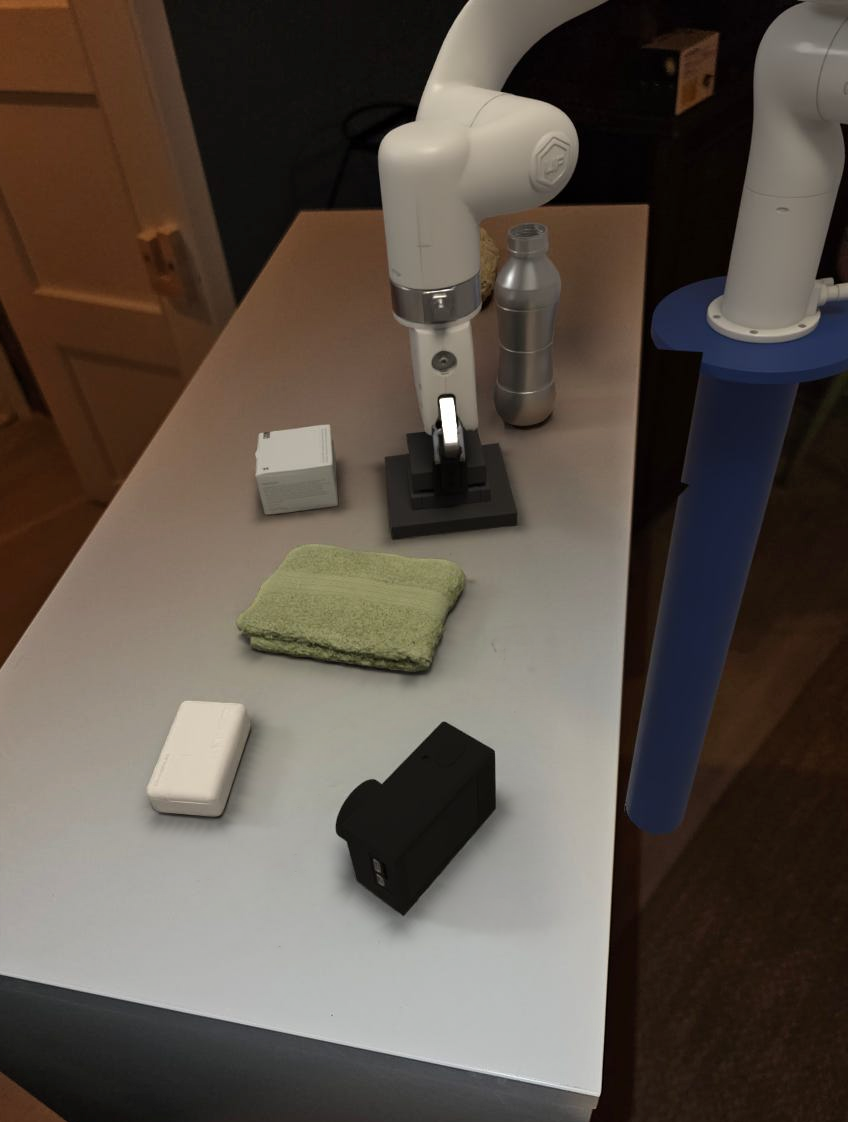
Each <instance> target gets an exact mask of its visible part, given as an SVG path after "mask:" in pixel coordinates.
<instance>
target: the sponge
mask: <svg viewBox="0 0 848 1122" xmlns="http://www.w3.org/2000/svg"><path fill="white" fill-rule="evenodd" d="M500 252H501V251H500V250H499V248H498V247H497V246H496V244H495V243H494V240H493V239H492V238H491V236H489V234H488V233H487V232H486V230H485V228H484V227H482V226H480V261H481V265H480V266H481V301H482V305H483V304H484V302H485V301H487V300H488V297H489V296H491V294H492V290H494V285H495V282H496V277H497V276H496V275H497V271H498V268H499V266H500V262H501V255H500Z"/></svg>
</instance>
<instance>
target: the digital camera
mask: <svg viewBox="0 0 848 1122" xmlns="http://www.w3.org/2000/svg"><path fill="white" fill-rule="evenodd" d="M496 778H497V777H496V750H494V749H493V748H492V747H490V746H488V745H486V744H485V743H483V742H482V741H480V740H478V739H477V738H474V737H473V736H471V735H470V734H468V733H466V732H464V731H463V730H461V729H459V728H458V727H456V726H454V725H452V724H450V723H449V722H447V721H441V722H440V723H439V724H438V725H437V726H436V728H434V729H433V731H432V732H431V733H429V734H428V735H427V737H425V739H424V740H423V741H422V742H421V743H420V744H419V745H418V746H417V747H416V748H415V749H414V750H413V751H412V752H410V754H409V755H408V756H407V757H406V758H405V759H404V760H403V761H402V762H401V764H399V765H398V767H396V769H395V770H393V772H392V773H391V774H390V775H389V776H388V777H387V778H386V779H385V780H383V782H382V783H381V781H379V780H377V779H375V778H370V779H366V780H364V781H363V782H361V783H360V784H358V785H357V786H356V787H355V788H354V789H353V790H352V791H351V792H350V793H349V795H348V796H347V797H346V798H345V800H344V802H343V803H342V805H341V806H340V809H339V811H338V814H337V816H336V820H335V833H336V835H337V836H338V837H339V838H341V839H342V840H343V841H345V842H346V845H347V848H348V853H349V856H350V860H351V861H350V862H351V865H352V868H353V873H354V876H355V880H356V881H357V883H359V884H361V886H363V887H364V888H365V889H367V890H368V891H370V892H371V893H373V894H374V895H375V896H376V897H378V898H379V899H380V900H382V901H383V902H384V903H385V904H387V905H388V906H390V907H391V908H392V909H393V910H394V911H396V912H397V913H399V914H400V915H401V916H402V917H403V916H405V915H406V914H407V913H408V912H409V910H410V909H411V908H412V907H413V906H414V905H415V904H416V902H417V901H418V900H419V899H420V898H421V896H422V895H423V894H424V893H425V892H426V891H427V889H428V888H429V887H430V886H431V885H432V884H433V883H434V881H436V879H437V878H438V877H439V875H440V874H441V873H442V872H443V871H444V870H445V869H446V867H447V866H448V865H449V864H450V863H451V862H452V860H453V859H454V858H455V857H456V856H457V855H458V853H459V852H460V851H461V850H462V849H463V847H464V846H465V845H466V844H467V843H468V842H469V841H470V839H471V838H472V837H473V836H474V835H475V833H476V832H477V831H478V830H479V829H480V828H481V826H483V824H484V823H485V822H486V821H487V820H488V818H489V817H490V816H491V815H492V814H493V812H495V810H496V809H497V788H496V787H497V784H496V783H497V779H496Z"/></svg>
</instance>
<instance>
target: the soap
mask: <svg viewBox="0 0 848 1122" xmlns="http://www.w3.org/2000/svg"><path fill="white" fill-rule="evenodd" d="M251 728H252V723H251V720H250V715H249V714H248V711H247V708H246V706H245V705H244V704H243V703H239V702H223V701H203V700H184V701H182V702H181V704H180V705H179V708H178V710H177V713H176V715H175V717H174V719H173V722H172V724H171V727H170V730H169V732H168V733H167V737H166V740H165V742H164V744H163V746H162V749H161V752H160V754H159V756H158V759H157V762H156V765H155V767H154V769H153V772H152V775H151V777H150V779H149V782H148V784H147V787H146V795H147V797H148V798H149V800H150V802H151V804H152V806H153V808H154V809H155V810H156V811H157V812H159V813H167V814H176V815H177V814H179V815H188V816H189V815H190V816H202V817H214V818H215V817H220V816H221V815H222V814H223V813H224V810H225V808H226V805H227V802H228V799H229V795H230V792H231V790H232V786H233V783H234V781H235V777H236V775H237V771H238V768H239V764H240V761H241V758H242V755H243V752H244V749H245V747H246V743H247V740H248V736H249V733H250V731H251Z"/></svg>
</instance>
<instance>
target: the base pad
mask: <svg viewBox="0 0 848 1122" xmlns="http://www.w3.org/2000/svg"><path fill="white" fill-rule="evenodd" d="M481 445H482V449H483V454H484V458H485V462H486V477H487V482H485V483H477V484H473V485H468V492H467V493H465V494H458V495H450V496H441V497H437V496H435V494H434V489H433V490H418V491H413V485H412V477H411V469H410V462H409V454H408V453H404V454H396V455H387V456H384V467H385V476H386V488H387V498H388V509H389V520H390V530H391V537H392V540H396V539H398V540H399V539H407V538H414V537H415V538H416V537H422V536H423V537H425V536H433V535H439V534H449V533H459V532H467V531H475V530H483V529H492V528H500V527H508V526H517V525H518V509H517V506H516V502H515V498H514V494H513V490H512V487H511V483H510V480H509V476H508V471H507V468H506V465H505V464H506V463H505V461H504V456H503V452H502V449H501V445H500V442H493V443H485V444H481Z"/></svg>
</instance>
